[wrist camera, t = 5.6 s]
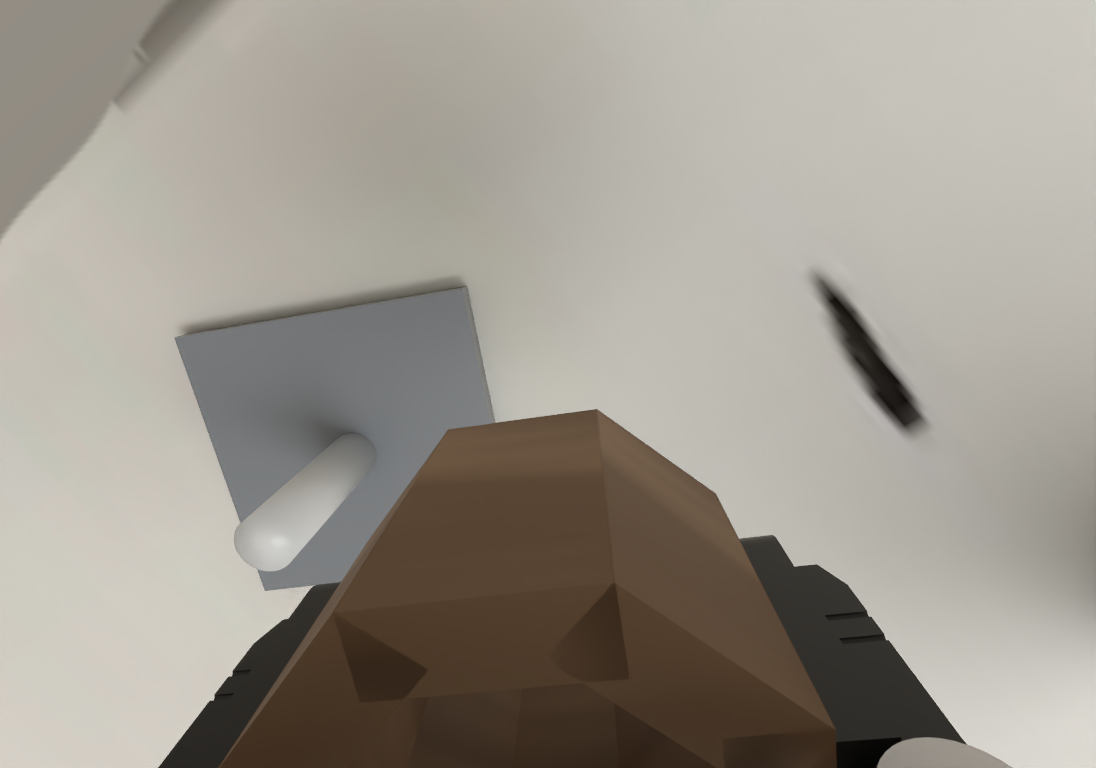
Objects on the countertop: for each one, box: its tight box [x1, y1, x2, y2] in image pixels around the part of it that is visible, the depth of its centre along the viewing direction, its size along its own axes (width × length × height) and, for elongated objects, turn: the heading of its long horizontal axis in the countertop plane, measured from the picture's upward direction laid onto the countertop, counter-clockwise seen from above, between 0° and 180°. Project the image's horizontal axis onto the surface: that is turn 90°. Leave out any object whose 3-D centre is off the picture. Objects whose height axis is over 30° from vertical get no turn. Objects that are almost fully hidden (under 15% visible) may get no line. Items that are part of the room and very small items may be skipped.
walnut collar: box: [218, 409, 837, 768], centre depth 8 cm, size 6×6×4 cm
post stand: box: [175, 286, 495, 591], centre depth 24 cm, size 14×14×9 cm
